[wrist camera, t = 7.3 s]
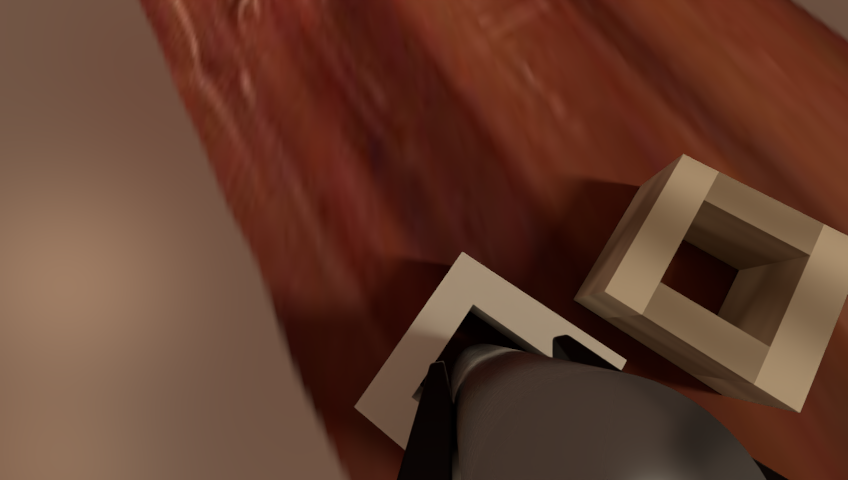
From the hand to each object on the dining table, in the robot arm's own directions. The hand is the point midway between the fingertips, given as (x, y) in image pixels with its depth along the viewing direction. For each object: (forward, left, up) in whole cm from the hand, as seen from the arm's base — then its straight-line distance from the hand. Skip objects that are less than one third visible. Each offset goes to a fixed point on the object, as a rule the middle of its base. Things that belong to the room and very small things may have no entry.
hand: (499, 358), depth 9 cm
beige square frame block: (+9, -7, -8) cm, 14 cm away
